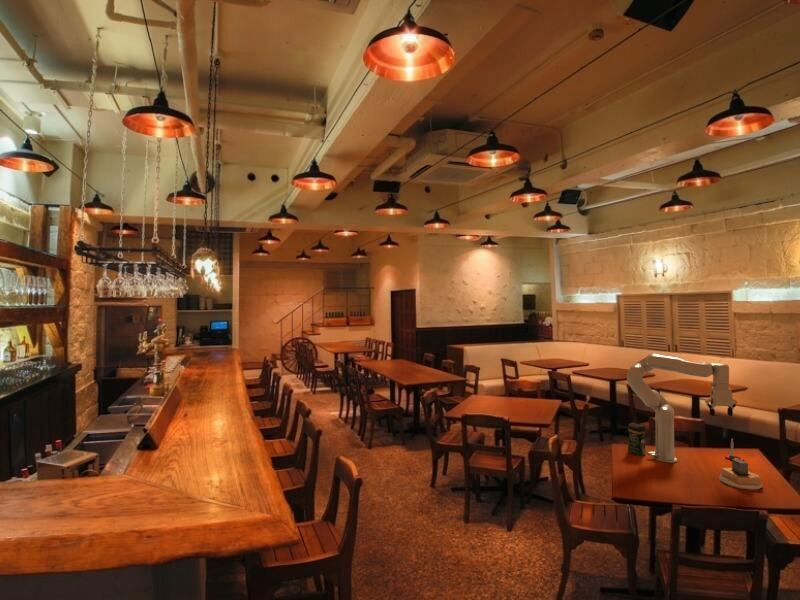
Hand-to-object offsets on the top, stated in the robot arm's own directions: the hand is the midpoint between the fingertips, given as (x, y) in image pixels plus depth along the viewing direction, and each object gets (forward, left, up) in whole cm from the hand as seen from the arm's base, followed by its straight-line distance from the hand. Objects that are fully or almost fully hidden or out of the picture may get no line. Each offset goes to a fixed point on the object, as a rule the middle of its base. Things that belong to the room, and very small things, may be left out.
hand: (721, 415), depth 258 cm
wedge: (-3, -20, -29) cm, 35 cm away
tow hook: (+18, +16, -31) cm, 39 cm away
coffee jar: (-36, +24, -31) cm, 53 cm away
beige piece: (-3, -20, -30) cm, 36 cm away
